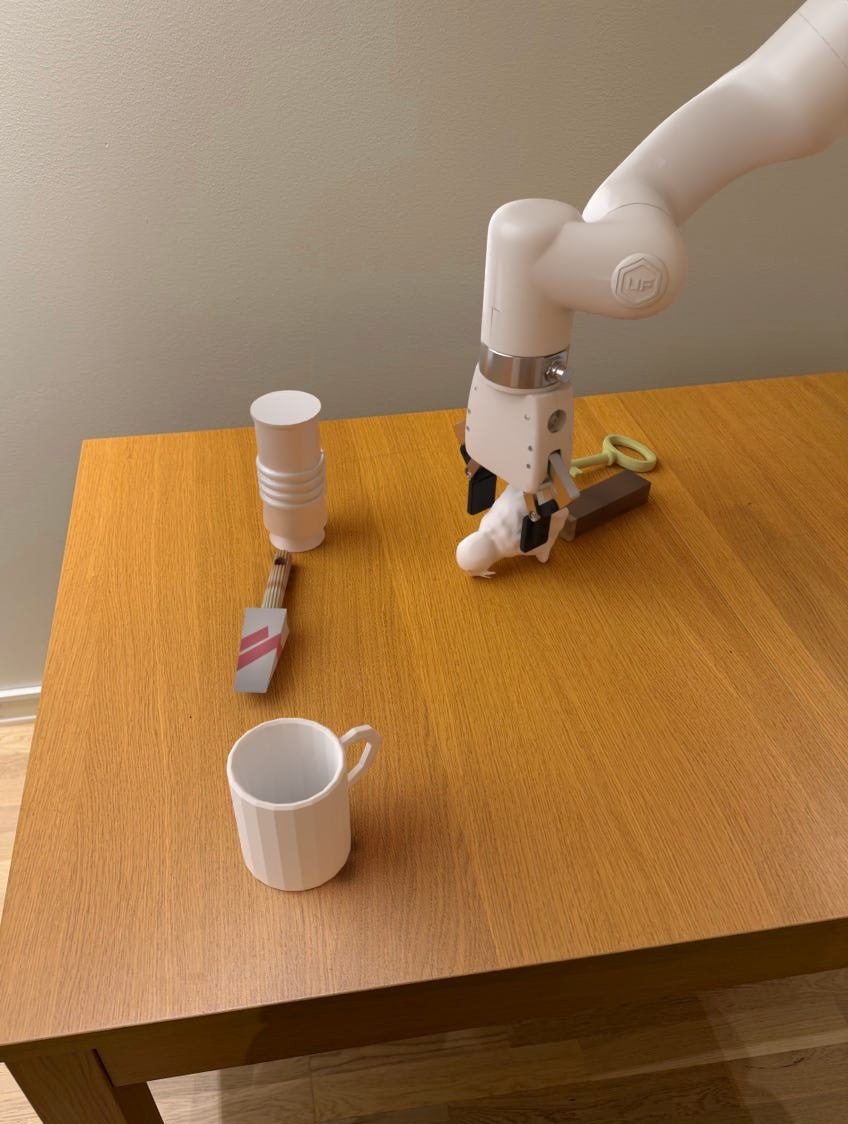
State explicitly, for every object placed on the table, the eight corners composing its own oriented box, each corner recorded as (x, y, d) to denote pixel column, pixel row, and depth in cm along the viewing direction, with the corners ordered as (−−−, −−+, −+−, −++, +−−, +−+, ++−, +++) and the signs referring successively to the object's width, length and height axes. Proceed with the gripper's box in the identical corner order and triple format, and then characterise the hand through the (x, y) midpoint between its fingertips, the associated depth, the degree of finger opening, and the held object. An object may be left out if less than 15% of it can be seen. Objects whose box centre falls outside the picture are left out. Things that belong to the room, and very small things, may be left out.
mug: (413, 827, 70) (416, 741, 63) (280, 912, 65) (267, 829, 58) (351, 761, 75) (347, 675, 68) (223, 836, 69) (204, 751, 63)
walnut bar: (623, 487, 103) (627, 467, 101) (648, 502, 101) (652, 481, 99) (544, 525, 98) (546, 505, 96) (568, 542, 96) (571, 521, 94)
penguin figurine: (577, 482, 88) (480, 536, 84) (572, 550, 94) (481, 603, 90) (532, 454, 92) (437, 504, 88) (530, 521, 98) (441, 571, 94)
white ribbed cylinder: (340, 543, 96) (334, 414, 86) (279, 562, 94) (265, 432, 84) (314, 510, 101) (305, 383, 91) (255, 527, 99) (239, 400, 89)
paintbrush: (224, 678, 77) (264, 544, 93) (228, 702, 79) (267, 566, 94) (269, 680, 77) (302, 545, 92) (272, 704, 79) (304, 568, 94)
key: (554, 479, 104) (556, 463, 103) (614, 438, 111) (617, 422, 109) (608, 503, 100) (611, 487, 99) (667, 459, 107) (671, 443, 105)
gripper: (630, 383, 75) (597, 556, 87) (489, 314, 86) (477, 477, 98) (563, 411, 72) (539, 587, 84) (426, 335, 83) (422, 501, 95)
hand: (506, 526), depth 91 cm, fingers open, 7 cm apart
